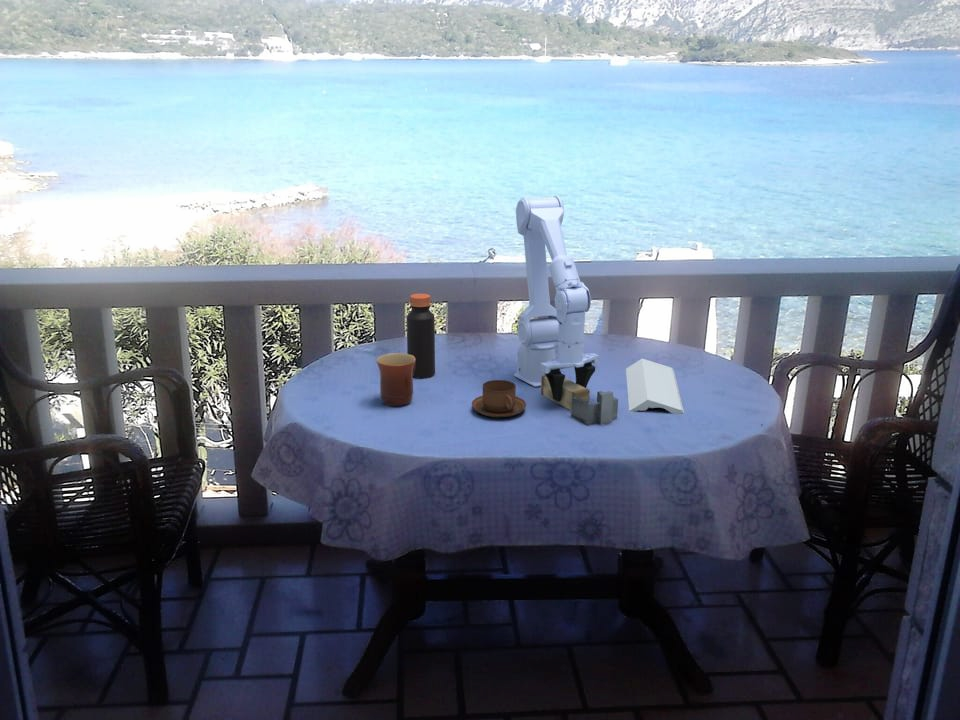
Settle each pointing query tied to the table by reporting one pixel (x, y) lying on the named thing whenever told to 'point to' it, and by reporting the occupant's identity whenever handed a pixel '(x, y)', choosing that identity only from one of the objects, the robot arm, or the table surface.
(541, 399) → the table surface
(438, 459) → the table surface
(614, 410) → the bracket
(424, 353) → the bottle
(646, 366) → the crown molding
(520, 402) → the cup and saucer
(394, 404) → the mug
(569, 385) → the tan rectangular block
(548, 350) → the robot arm
